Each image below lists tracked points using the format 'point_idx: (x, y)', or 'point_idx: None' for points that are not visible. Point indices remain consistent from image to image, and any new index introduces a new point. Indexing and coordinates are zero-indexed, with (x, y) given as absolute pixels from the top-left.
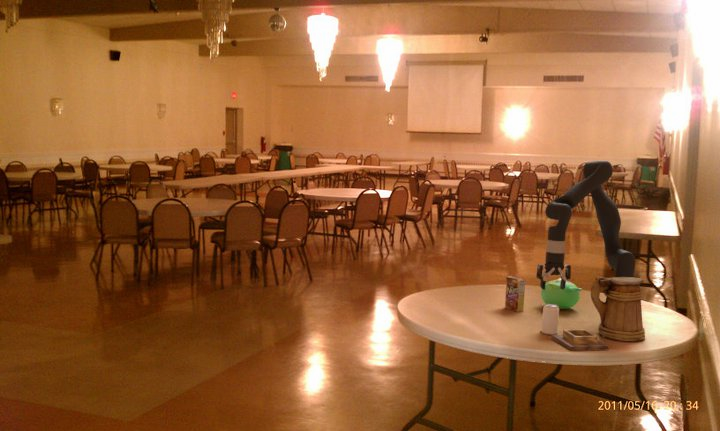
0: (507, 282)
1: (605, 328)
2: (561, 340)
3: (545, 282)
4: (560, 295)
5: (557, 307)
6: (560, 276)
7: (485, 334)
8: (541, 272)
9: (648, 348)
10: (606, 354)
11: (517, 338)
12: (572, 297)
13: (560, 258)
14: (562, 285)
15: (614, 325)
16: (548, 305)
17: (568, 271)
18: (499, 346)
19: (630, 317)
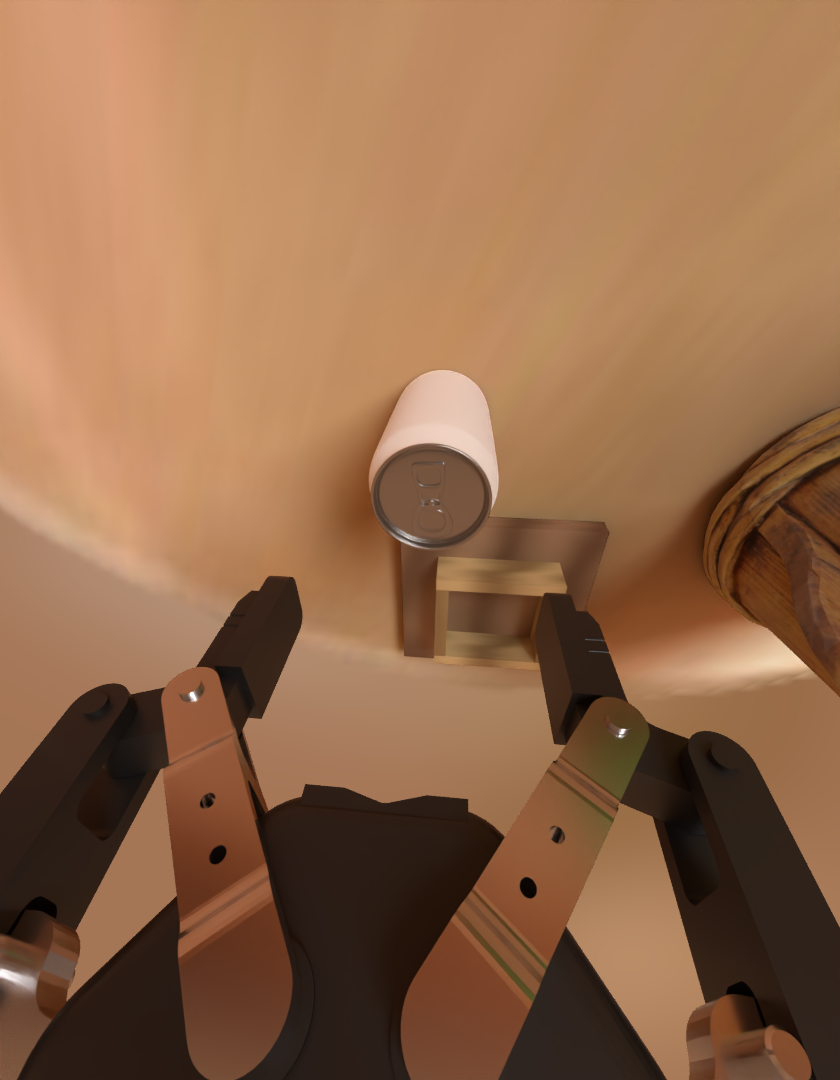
0: None
1: (728, 563)
2: (405, 596)
3: (268, 697)
4: None
5: (463, 537)
6: (564, 766)
7: (63, 414)
8: (87, 874)
9: (750, 664)
10: (515, 685)
11: (228, 494)
12: None
13: None
14: (544, 671)
15: (758, 615)
16: (407, 488)
17: (711, 980)
18: (140, 577)
19: None
